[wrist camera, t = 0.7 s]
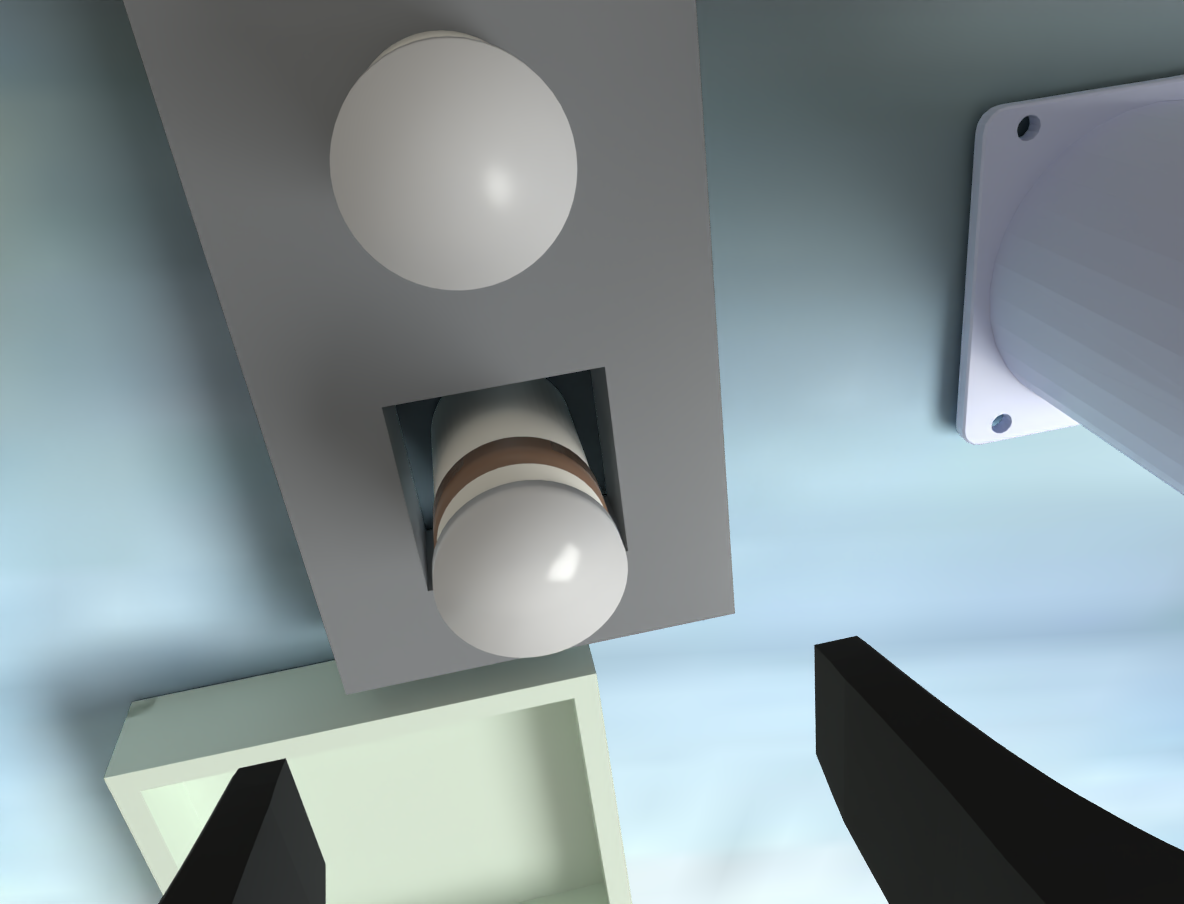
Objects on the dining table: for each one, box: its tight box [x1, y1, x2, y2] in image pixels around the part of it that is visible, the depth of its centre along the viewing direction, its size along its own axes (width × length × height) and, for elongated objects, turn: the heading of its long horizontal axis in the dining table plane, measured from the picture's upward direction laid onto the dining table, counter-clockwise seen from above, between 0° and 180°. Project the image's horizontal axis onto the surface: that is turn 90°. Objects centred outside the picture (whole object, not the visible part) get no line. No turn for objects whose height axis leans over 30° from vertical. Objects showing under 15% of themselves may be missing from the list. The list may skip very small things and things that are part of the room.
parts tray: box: [104, 644, 632, 904], centre depth 25 cm, size 11×10×2 cm
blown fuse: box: [431, 378, 628, 658], centre depth 19 cm, size 3×3×6 cm
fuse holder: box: [123, 0, 735, 695], centre depth 18 cm, size 9×16×6 cm, turn 7°
